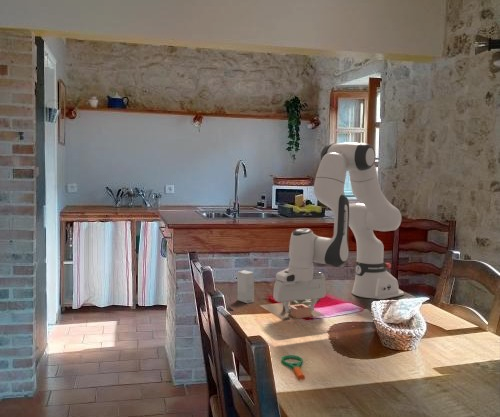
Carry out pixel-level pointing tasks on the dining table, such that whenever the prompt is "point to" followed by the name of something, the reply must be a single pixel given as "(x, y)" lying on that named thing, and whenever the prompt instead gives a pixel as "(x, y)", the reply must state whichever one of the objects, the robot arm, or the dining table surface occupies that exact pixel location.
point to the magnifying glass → (294, 365)
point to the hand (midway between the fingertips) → (299, 311)
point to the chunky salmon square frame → (300, 311)
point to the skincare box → (245, 286)
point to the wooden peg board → (279, 308)
